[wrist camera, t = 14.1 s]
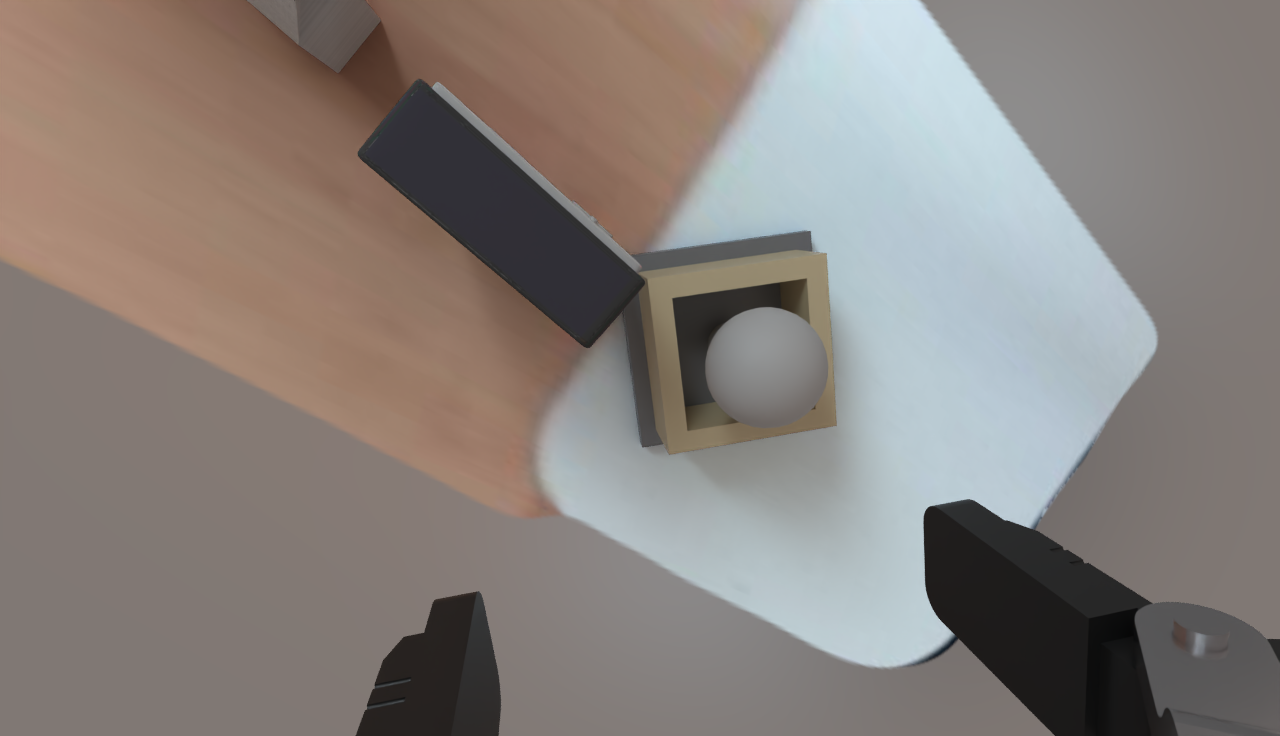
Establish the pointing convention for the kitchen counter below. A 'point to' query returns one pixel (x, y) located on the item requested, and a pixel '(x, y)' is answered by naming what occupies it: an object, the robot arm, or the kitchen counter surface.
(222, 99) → the kitchen counter surface
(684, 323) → the bulb holder
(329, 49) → the grey block
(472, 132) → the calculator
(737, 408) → the lightbulb
